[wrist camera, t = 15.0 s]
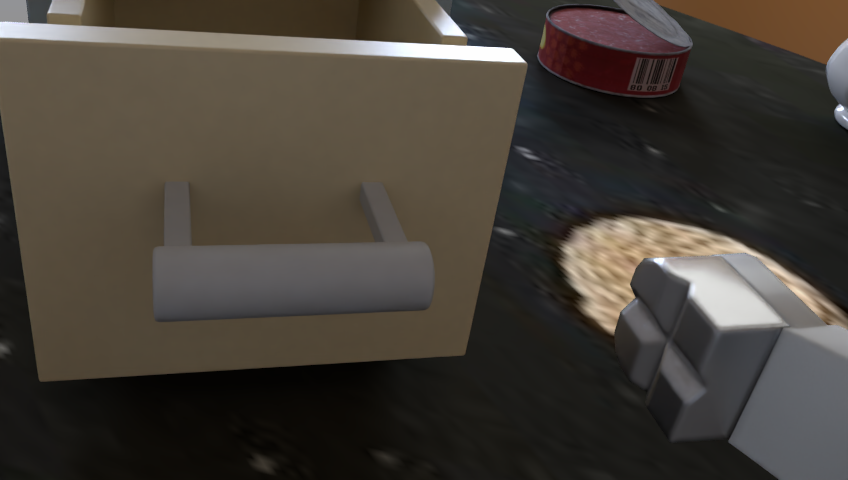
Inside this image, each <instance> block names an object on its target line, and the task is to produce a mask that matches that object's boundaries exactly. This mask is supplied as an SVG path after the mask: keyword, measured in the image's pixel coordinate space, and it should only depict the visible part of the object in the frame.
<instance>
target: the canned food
mask: <svg viewBox="0 0 848 480" xmlns="http://www.w3.org/2000/svg"><path fill="white" fill-rule="evenodd" d="M613 1H614V2H615V3H616V4H617V5H618V6H619V7H620V8H621V9H618V8H613V7H606V6H599V5H589V4H567V5H560V6H556V7H553V8H551V9H550V10H549V11H548V12H547V15H546V22H545V26H544V31H543V35H542V40H541V44H540V49H539V52H538V55H537V57H538V60H539V62H540V64H541V65H542V66H543V67H544V68H545V69H546V70H548V71H549V72H550V73H552V74H554V75H555V76H557V77H559V78H561V79H563V80H565V81H568V82H570V83H572V84H575V85H578V86H581V87H584V88H587V89H591V90H594V91H598V92H602V93H607V94H612V95H618V96H625V97H636V98H656V97H663V96H667V95H670V94H673V93H674V92H675V91H677V90H678V88H679V86H680V81H681V78H682V75H683V72H684V69H685V66H686V63H687V60H688V57H689V53H690V50H691V48H692V46H693V43H692V39H691V38H690V37H689V35H688V34H687V33H686V32H685V31H684V30H683V29H682V28H681V27H680V25H679V24H678V23H677V21H675V20H674V19H673V18H672V17H670V16H669V15H668V14H667V13H666V12H665V11H664V10H663V9H662V8H661V6H660V5H658V4H657V3H656V2H655V1H653V0H613Z"/></svg>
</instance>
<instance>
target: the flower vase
mask: <svg viewBox="0 0 848 480" xmlns="http://www.w3.org/2000/svg"><path fill="white" fill-rule="evenodd" d="M826 77H827V81H828V85H829V88H830V91H831V93H832V95H833V97H834V98H835V99H836V100H837V101H838V102H839V105H838V106H837V108H836V109H835V111H834V115H835V119H836V120H837V121H838V122H839V124H840V125H842V126H843V127H845V128H846V129H847V130H848V39H847V40H845V41H844V42H843V43H842V44H841V45H840V46H839V47H838V49H837V50H836V51H835V52H834V53H833V55H832V56H831V58H830V59H829V61H828V63H827V66H826Z"/></svg>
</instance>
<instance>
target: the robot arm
mask: <svg viewBox="0 0 848 480" xmlns="http://www.w3.org/2000/svg"><path fill="white" fill-rule="evenodd" d="M630 285H631V288H632V290H633V292H634V295H635V297H636V298H635V299H634V300H633V301H632V302H631V303H629V304H628V305H627V306H626V307H625V308H624V309H623V310H622V311H621V312H620V316H619V319H618V323H617V326H616V329H615V352H616V355H617V359H618V362H619V365H620V367H621V369H622V370H623V372H624V374H625V375H626V377H627V378H628V380H629V381H630V382H632V383H633V384H635V385H637V386H638V387H640V388H642V389H643V390H645V391H646V392H648V393H647V398H646V404H645V406H646V407H647V409H648V410H649V412H650V413H651V415H652V416H653V418H654V419H655V421H656V422H657V424H658V425H659V427H660V428H661V429H662V431H663V432H664V434H665V435H666V437H667V438H668V440H669V441H670V443H676V442H691V441H705V440H719V439H729V441H728V442H729V443H730V444H732V445H733V446H735V447H736V448H737V449H739V450H740V451H741V452H743V453H744V454H745V455H747V456H748V457H749V458H751V459H752V460H753V461H755V462H756V463H757V464H759V465H760V466H761V467H763V468H764V469H765V470H767V471H768V472H770V473H771V474H772V475H774V476H775V477H776V478H778V479H779V480H848V330H847V329H845V328H843V327H841V326H838V325H827V324H826V323H824V322H823V321H822V320H821V319H820V318H819V317H818V316H817V315H816V314H815V313H814V312H813V311H812V310H811V309H810V308H809V307H808V306H807V305H806V304H805V303H804V302H803V301H802V300H801V299H799V298H798V297H797V296H796V295H795V294H794V293H793V292H792V291H791V290H790V289H789V288H788V287H787V286H786V285H785V284H784V283H783V282H782V281H781V280H780V279H779V278H778V277H777V276H776V275H774V274H773V273H772V272H771V271H770V270H769V269H768V268H767V267H766V266H765V265H764V264H763V263H762V262H761V261H760V260H759V259H758V258H757V257H754V256H752V255H749V254H746V253H737V254H720V255H711V256H694V257H668V258H644V259H643V261H642V262H641V263H640V264H639V265H638V267H637V268H636V270H635V272H634V275H633V278H632V281H631V283H630Z"/></svg>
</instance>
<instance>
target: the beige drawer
mask: <svg viewBox="0 0 848 480" xmlns="http://www.w3.org/2000/svg"><path fill="white" fill-rule="evenodd" d="M467 40H468V39H467V36H466V35H465V34H464V33H463V32H462V31H461V29H460V28H459V27H458V26H457V25H456V24H455V23H454V21H453V20H452V19H451V18H450V17H449V16H448V14H447V13H446V12H445V11H444V10H443V9H442V7H441V6H440V5H439V4H438V3H437V2H436V0H52V2H51V5H50V8H49V10H48V13H47V24H39V23H20V22H18V23H17V22H0V111H1V118H2V125H3V132H4V139H5V146H6V153H7V160H8V167H9V174H10V181H11V188H12V195H13V202H14V209H15V216H16V223H17V230H18V237H19V244H20V251H21V258H22V265H23V272H24V279H25V286H26V293H27V300H28V307H29V314H30V321H31V328H32V335H33V342H34V349H35V356H36V363H37V370H38V377H39V380H40V381H41V382H47V381H63V380H79V379H95V378H111V377H127V376H143V375H159V374H175V373H191V372H207V371H223V370H239V369H255V368H271V367H287V366H303V365H319V364H335V363H351V362H368V361H384V360H400V359H416V358H432V357H448V356H463V355H465V352H466V348H467V343H468V338H469V334H470V329H471V324H472V320H473V315H474V311H475V306H476V301H477V297H478V292H479V288H480V283H481V278H482V274H483V269H484V264H485V260H486V255H487V251H488V246H489V241H490V237H491V232H492V228H493V223H494V218H495V214H496V209H497V204H498V200H499V195H500V191H501V186H502V181H503V177H504V172H505V168H506V163H507V158H508V154H509V149H510V144H511V140H512V135H513V131H514V126H515V121H516V117H517V112H518V108H519V103H520V98H521V94H522V89H523V84H524V80H525V75H526V71H527V63H526V62H525V61H524V60H523V59H522V58H521V57H520V56H519V55H518V54H517V52H516V51H515V50H514V49H511V48H492V47H473V46H467Z"/></svg>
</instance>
